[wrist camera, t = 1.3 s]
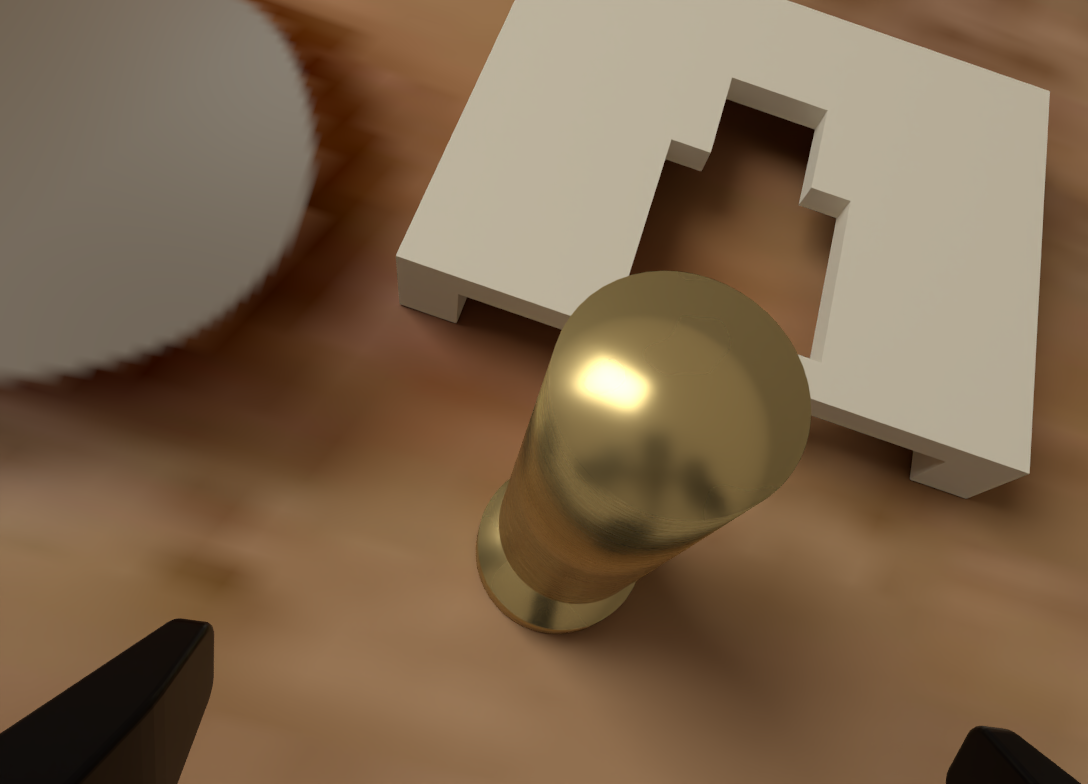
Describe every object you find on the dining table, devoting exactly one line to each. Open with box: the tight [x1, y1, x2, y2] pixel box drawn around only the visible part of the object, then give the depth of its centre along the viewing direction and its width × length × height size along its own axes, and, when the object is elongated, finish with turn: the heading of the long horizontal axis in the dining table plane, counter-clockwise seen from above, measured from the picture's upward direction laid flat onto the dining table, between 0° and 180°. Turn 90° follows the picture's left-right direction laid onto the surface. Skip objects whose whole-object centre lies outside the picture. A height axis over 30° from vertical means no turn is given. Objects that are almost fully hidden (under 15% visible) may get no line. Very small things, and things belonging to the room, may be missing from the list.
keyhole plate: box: [396, 0, 1050, 499], centre depth 28 cm, size 16×20×3 cm
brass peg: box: [476, 271, 811, 634], centre depth 18 cm, size 5×5×13 cm
